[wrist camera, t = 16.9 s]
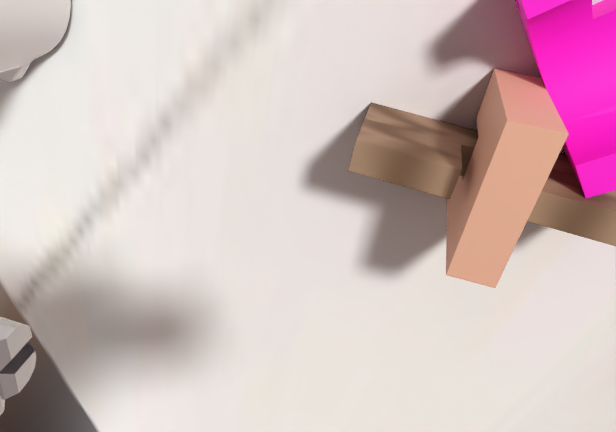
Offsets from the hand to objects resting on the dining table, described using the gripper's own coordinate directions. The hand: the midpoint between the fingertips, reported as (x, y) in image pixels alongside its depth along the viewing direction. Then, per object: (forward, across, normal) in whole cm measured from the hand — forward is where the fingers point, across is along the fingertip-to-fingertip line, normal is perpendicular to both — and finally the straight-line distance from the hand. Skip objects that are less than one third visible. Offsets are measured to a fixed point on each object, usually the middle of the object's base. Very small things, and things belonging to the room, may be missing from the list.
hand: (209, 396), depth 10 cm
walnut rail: (+34, -11, +7) cm, 36 cm away
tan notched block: (+34, -12, +6) cm, 37 cm away
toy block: (+34, -15, -2) cm, 38 cm away
